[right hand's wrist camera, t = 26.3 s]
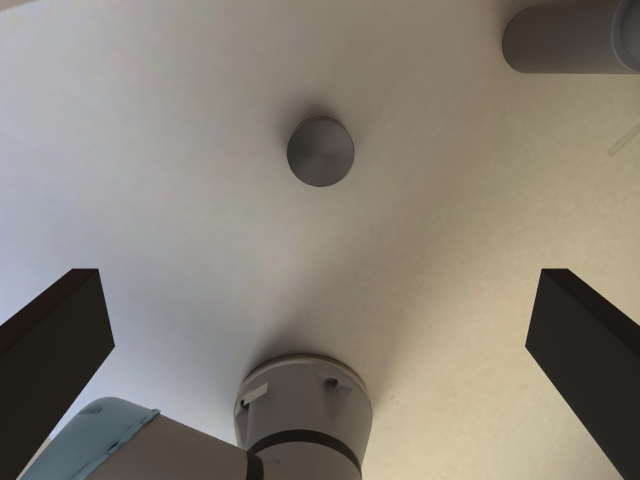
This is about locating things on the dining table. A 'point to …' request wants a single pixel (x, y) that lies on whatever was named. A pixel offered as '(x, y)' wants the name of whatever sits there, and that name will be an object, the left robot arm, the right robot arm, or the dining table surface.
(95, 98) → the dining table surface
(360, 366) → the dining table surface
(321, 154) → the lid
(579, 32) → the jar
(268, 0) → the dining table surface
